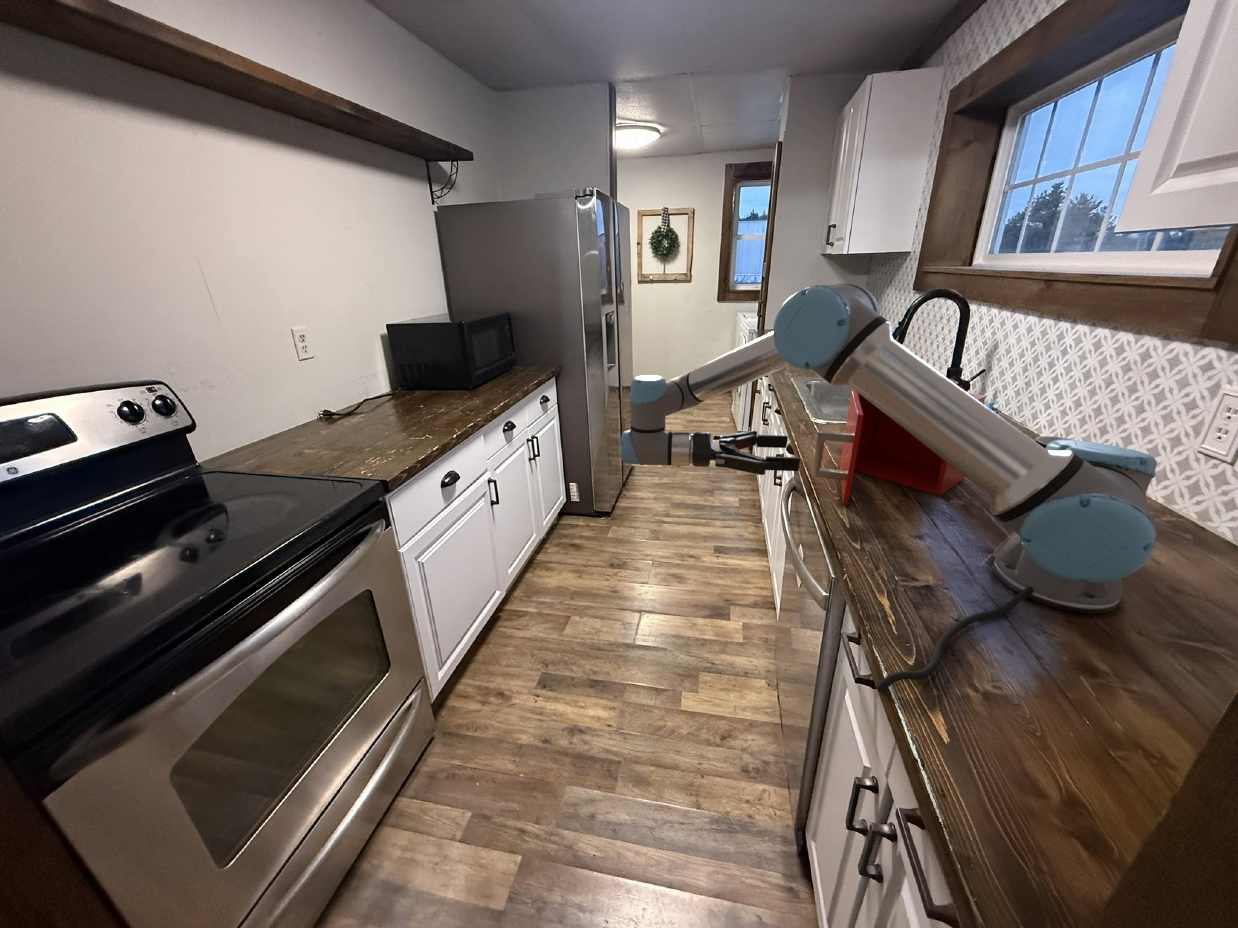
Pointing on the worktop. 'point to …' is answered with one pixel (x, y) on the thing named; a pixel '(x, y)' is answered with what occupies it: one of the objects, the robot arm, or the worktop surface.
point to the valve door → (848, 450)
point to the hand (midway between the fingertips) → (792, 452)
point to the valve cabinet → (901, 454)
